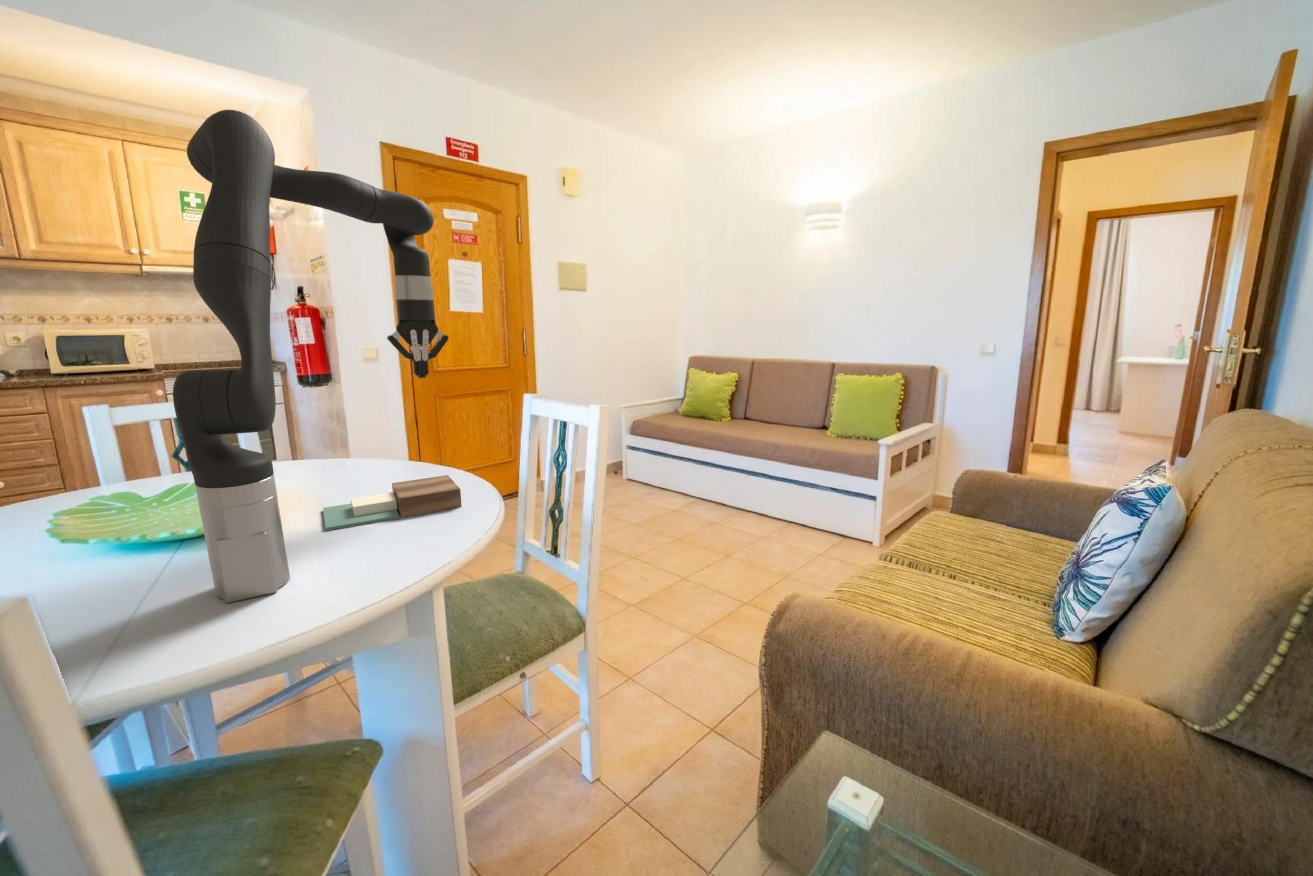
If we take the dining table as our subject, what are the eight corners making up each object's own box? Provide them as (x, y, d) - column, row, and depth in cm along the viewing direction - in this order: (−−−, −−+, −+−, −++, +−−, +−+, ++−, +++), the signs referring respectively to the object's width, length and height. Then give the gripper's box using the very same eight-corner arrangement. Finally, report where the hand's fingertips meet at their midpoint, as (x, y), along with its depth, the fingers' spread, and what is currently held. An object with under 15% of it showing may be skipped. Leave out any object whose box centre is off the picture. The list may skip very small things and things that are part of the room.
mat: (399, 518, 110) (399, 515, 110) (325, 531, 103) (325, 528, 103) (390, 499, 120) (390, 497, 120) (323, 510, 114) (323, 507, 113)
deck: (461, 506, 117) (460, 488, 116) (401, 516, 110) (399, 498, 110) (449, 491, 127) (448, 475, 126) (393, 500, 120) (391, 483, 119)
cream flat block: (397, 508, 113) (396, 500, 113) (354, 516, 109) (353, 507, 108) (393, 500, 118) (392, 492, 118) (351, 507, 114) (350, 498, 113)
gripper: (383, 297, 110) (391, 381, 114) (450, 298, 117) (456, 377, 121) (379, 297, 116) (387, 377, 120) (443, 299, 123) (448, 374, 127)
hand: (421, 377), depth 120 cm, fingers closed
